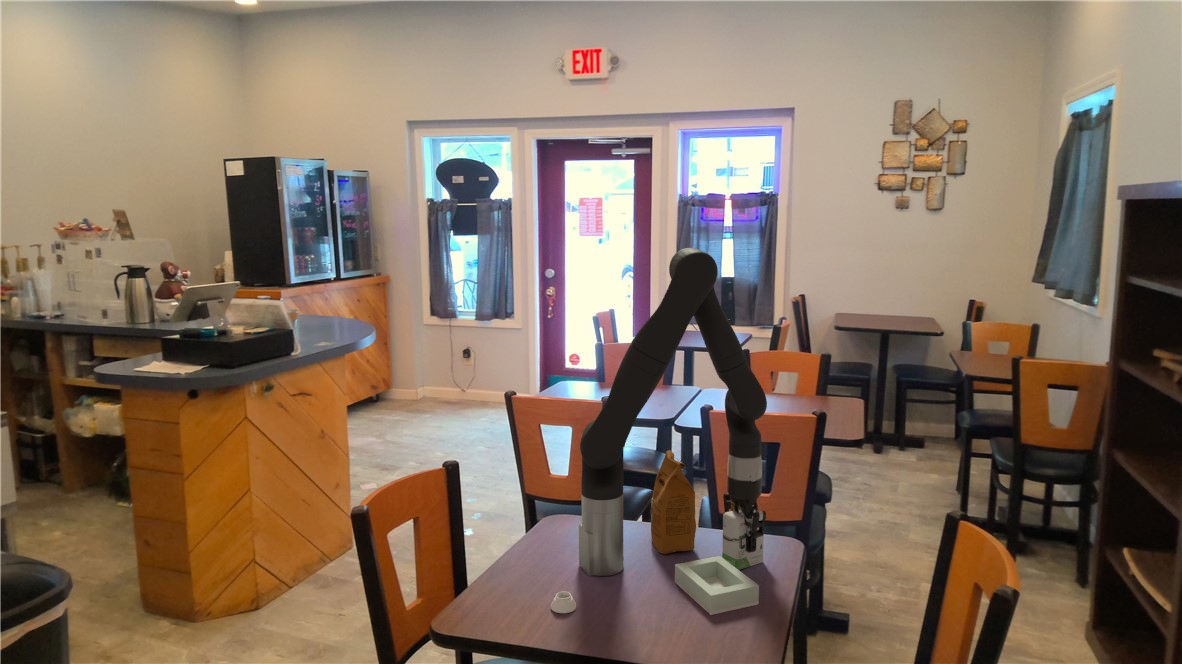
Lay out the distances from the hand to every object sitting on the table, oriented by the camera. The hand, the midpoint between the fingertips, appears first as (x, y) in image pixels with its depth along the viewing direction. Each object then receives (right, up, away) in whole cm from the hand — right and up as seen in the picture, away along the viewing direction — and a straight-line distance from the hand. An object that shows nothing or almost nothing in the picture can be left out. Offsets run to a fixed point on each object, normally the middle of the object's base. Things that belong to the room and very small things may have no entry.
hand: (743, 545), depth 171 cm
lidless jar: (-40, -7, -19) cm, 45 cm away
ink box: (0, -4, +1) cm, 4 cm away
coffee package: (-15, -3, +11) cm, 19 cm away
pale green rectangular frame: (-8, -6, -13) cm, 17 cm away
